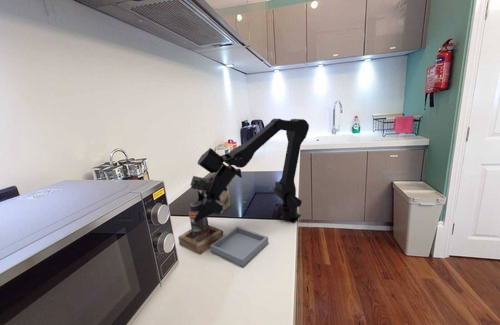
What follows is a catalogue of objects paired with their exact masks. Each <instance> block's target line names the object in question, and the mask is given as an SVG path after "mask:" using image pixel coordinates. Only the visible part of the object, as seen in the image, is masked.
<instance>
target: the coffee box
mask: <svg viewBox="0 0 500 325" xmlns="http://www.w3.org/2000/svg"><path fill="white" fill-rule="evenodd" d="M216 173H217V172H216ZM216 173H212V174H211V175H209V176H208V177H206V178H205V179H208V180H209V178H210V177H214V176H215V175H216ZM227 189H228V190H227V191H225V190H224V192H223V193H222V194H221V196H220V200H219V202H220V203H221V204H222V206H223V210H222V212H221V213H220V214H223V213H224V212H225V211H226V210H227V209H228V208H229V207H230V206H231V201H230V200H231V198H230V191H229V185H228V186H227ZM220 214H219V215H220Z"/></svg>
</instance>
